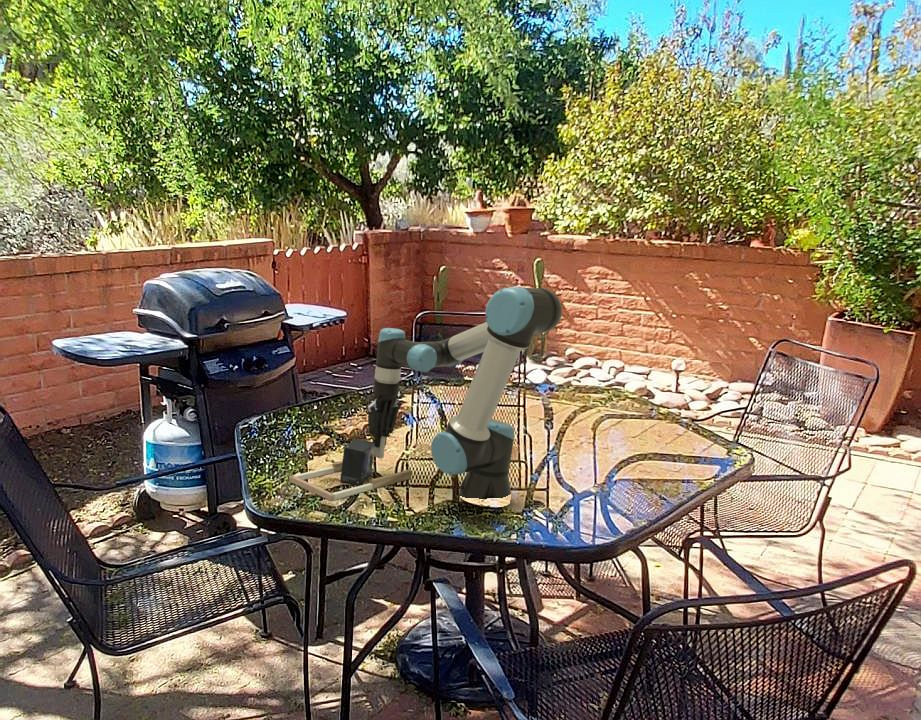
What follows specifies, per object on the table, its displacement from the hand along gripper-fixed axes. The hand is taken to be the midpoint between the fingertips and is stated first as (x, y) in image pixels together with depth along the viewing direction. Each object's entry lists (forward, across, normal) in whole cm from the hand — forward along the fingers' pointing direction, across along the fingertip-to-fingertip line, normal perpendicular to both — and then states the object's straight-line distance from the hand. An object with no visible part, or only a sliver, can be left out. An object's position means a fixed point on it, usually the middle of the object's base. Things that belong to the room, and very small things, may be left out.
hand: (378, 456), depth 224 cm
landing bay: (+5, +19, +1) cm, 19 cm away
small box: (+5, +9, 0) cm, 10 cm away
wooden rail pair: (+5, +3, 0) cm, 6 cm away
